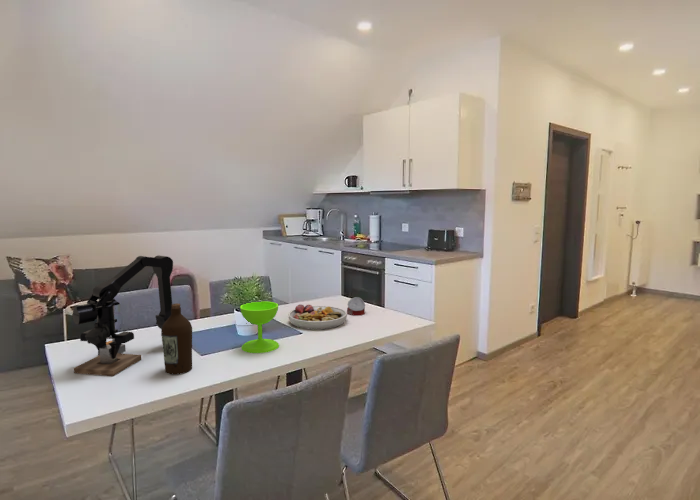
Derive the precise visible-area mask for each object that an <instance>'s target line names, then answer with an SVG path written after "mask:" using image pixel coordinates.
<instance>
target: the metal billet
mask: <svg viewBox="0 0 700 500" xmlns="http://www.w3.org/2000/svg"><path fill="white" fill-rule="evenodd" d="M99 351H100V364H112V363H113V362H115V361H117V355H116V357H115V358H114V359H113V358H112V351H111V346H110V345H105V346H103V347H101V348H99Z"/></svg>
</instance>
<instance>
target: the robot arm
mask: <svg viewBox="0 0 700 500" xmlns="http://www.w3.org/2000/svg"><path fill="white" fill-rule="evenodd" d="M173 261H174V260H173V259H172V257H170V256H165V255H156V256H153V257H151V256H145V255H138V256H137V257H136V258H135V259H134V260H133V261H131V263H129V264H128V265H127V266H125V267H124V268H123V269H122V270H120V271H119V272H118V273H117V274H115V276H113V277H111V278H109V279H108V280H105V281H103V282H100V283H99V284H98V285H96V286H95V287H94V288H93V290H92V294H91V296H90V297H89V298H88V300H87V302H86V303H85V304H84V303H83V304H76V305H74V306H73V307H74V309H73V311H72V314H71V317H72V321H73V323H74V324H75V325H76V326H78V325H83V324H87V323H90V322H94V325H93V327H94V328H92V329H89V330H86V331H84V332H82V333H81V334H80V335H79V340H80V342H87V344H89V345H90V344H91V345H92V346H93V345H94V346H95V348H96V350H97V352H98V351H99V348H101V347H103V346H105V345H106V342H107V340H111V341H112V342H111V343H109V345H110V346H111V351H112V358H113V359H114V358H115V357H116V355H117V353H118V350H119V348H120V346H121V344H126V343H129V342H130V341H132V340H134V339H135V333H134V332H133V331H126V330H125V331H122V332H119V329H116V323H118V318H115V306H119V305H120V302H119V301H117V300H116V299H115V297H116V296H118V294H119V293H120V291H121V288H123V286H124V285H125V284H127V283H128V282H129V281H130V280H131V279H133V278H134V277H135V276H136V275H138V274H139V273H140V272H141V271H142V270H143V269H145V268H146V267H151V268H152V270H153V272H154V274H155V276H156V277H157V287H158V298H159V307H160V308H159V309H160V310H159V313H158V314H155V320H156V322H155V324H156V325H157V327H158V328H159V329H160V331H161V330H162V326H163V324H164V323H165V321H166V320H167V319H168V318H169V317H170V316H171V305H172V304H173V296H172V286H171V285H172V284H171V275H172V273H173V269H174V262H173ZM95 321H96V322H95ZM118 332H119V333H118ZM99 353H100V351H99Z"/></svg>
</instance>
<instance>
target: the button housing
mask: <svg viewBox="0 0 700 500" xmlns="http://www.w3.org/2000/svg"><path fill="white" fill-rule="evenodd" d="M126 349H127V348H126V343H122V344H121V346H120V348H119V350H118V353H120V354H124V353H125V352H126ZM97 354H98V355H97V356H99V355H100V353H99V351H98V350H97Z"/></svg>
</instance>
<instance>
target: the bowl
mask: <svg viewBox="0 0 700 500" xmlns="http://www.w3.org/2000/svg"><path fill="white" fill-rule="evenodd" d="M347 316H348V314H347V310H345V309H343V308H339V307H334V306H326V305H324V306H323V305H317V306H316V305H315V306H313V305H312V304H306V305H304V304H301V303H300V304H298V305H296V306H295V309H293V310H291V311H290V312H288V320H289V322H290V323H291V324H292V325H293V326H295V327H297V328H300V329H306V330H326V329H327V330H328V329H332V328H336V327H338V326H340V325H342V324H344V323H345V321H346V320H347Z"/></svg>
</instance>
